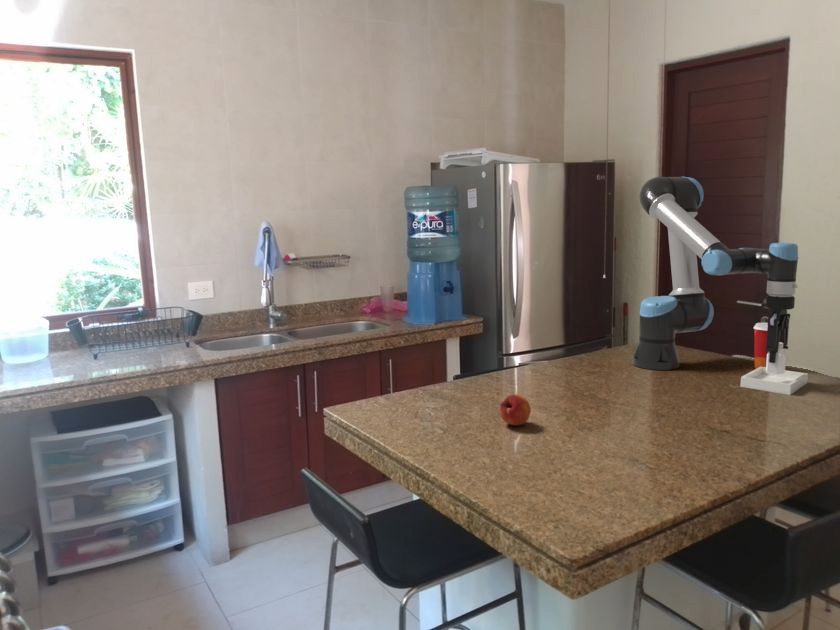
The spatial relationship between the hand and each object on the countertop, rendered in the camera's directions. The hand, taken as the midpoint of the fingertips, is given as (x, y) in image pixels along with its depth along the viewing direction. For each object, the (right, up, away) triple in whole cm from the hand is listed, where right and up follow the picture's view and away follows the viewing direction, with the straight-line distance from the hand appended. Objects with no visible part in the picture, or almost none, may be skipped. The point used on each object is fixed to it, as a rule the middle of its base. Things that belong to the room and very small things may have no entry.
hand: (775, 371), depth 202 cm
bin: (0, -4, +1) cm, 4 cm away
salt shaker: (0, -1, 0) cm, 1 cm away
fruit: (-84, -11, -33) cm, 91 cm away
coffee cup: (+8, -1, +21) cm, 22 cm away
